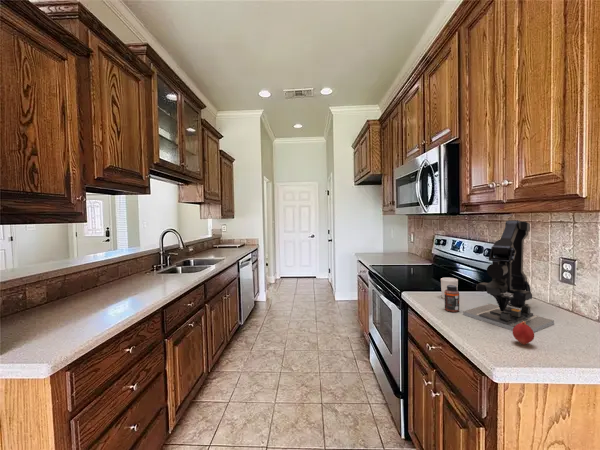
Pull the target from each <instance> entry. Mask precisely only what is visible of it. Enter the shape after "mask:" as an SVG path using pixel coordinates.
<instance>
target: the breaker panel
mask: <svg viewBox="0 0 600 450" xmlns="http://www.w3.org/2000/svg"><path fill="white" fill-rule="evenodd" d="M513 308H514V307H511V306H510V307H509V306H507V307H506V309H505V310H504V311H501V310H500V308H499V305H497V304H493V303H488V304H483V305H481V306H477V307H474V308H471V309H466V310H463V312H462V315H463V316H466V317H468V318H471V319H475V320H478V321H482V322H484V323H488V324H491V325H494V326H498V327H500V328H504V329H507V330H509V331H512V332H513V328H514V327H515V326H516V325H517V324H519V323H522V322H523V321H524V322H525V323H526V325H528V326H529V327H530V328H531V329H532V330H533V332H534V333H536V332H538V331H540V330H543V329H545V328H548V327H550V326H553V325H555V320H553V319H550V318H547V317H544V316H538V315H535V314H534V313H533V312H531V306H524V305H523V306H521V308H520V309H518V310H521V316H520V317H515V316H512V315H511V309H513ZM514 309H516V308H514Z"/></svg>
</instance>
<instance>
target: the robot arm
mask: <svg viewBox="0 0 600 450" xmlns="http://www.w3.org/2000/svg"><path fill="white" fill-rule="evenodd" d="M504 224H505V227H504V229H503V232H502V233H501V234H502V235H501V237H500V239H498V240H496V241H494V244H493V245H492V246H491V247H490V251H489V257H488V261H489V262H492V264H489V265H487V267H486V273H487V276H489V277H490V278H491V279H492V280H491V281H489V282H480V283H477V284H476V288H475V289H476V290H475V291H479V292H485V291H486V293H487V294H489V295H490V296H493V298H494V299H495V301H496V302H497V304H498V305H497V306H499V308H500V310H501V311H504V310H505V309H506V307H508V305H509V306H512V307H513V306H514V307H516V308H520V309H521V306H523V305H524V306H528V307H530V304H528V303H526V301H529V300H532V299H533V294H532V291H531V285H530V283H529V281H528V277H527V275H526V274H525V273H524V246H525V245H524V244H525V242H524V241H525V239H526V238H528V236H529V232H530V230H531V224H530V223H529V222H528V221H526V220H524V221H523V220H522V221H521V220H518V219H516V220H514V219H513V220H511V219H508V220H506V221H505V223H504Z"/></svg>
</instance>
